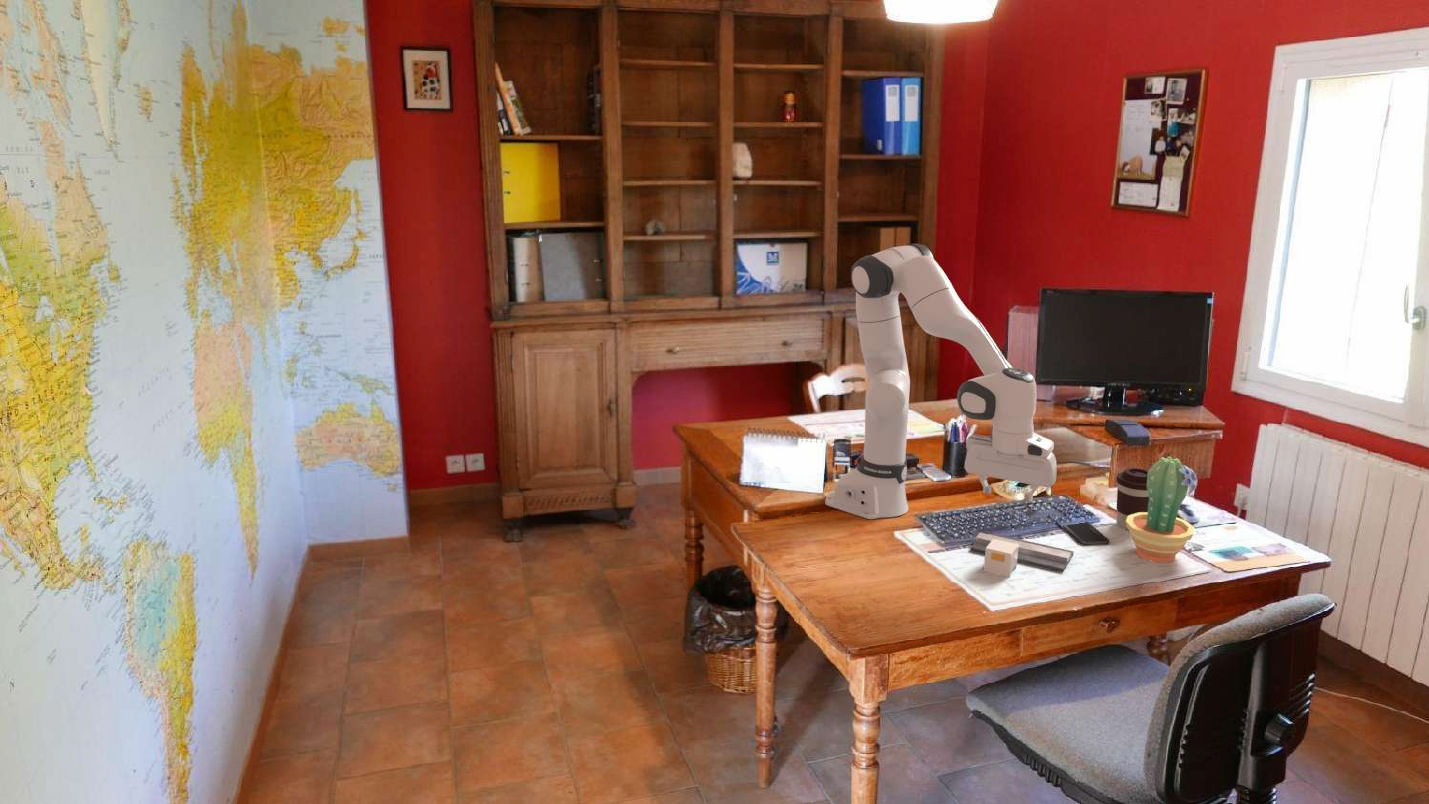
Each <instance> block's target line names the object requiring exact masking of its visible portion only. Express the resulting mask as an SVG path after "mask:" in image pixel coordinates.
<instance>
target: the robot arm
mask: <svg viewBox="0 0 1429 804" xmlns="http://www.w3.org/2000/svg"><path fill="white" fill-rule="evenodd" d="M850 281H851V285H852V287H853V289H854V290H855V313H856V314H855V315H856V320H857V326H858V327H857V328H858V335H859V336H858V337H859V343H860V350H861V352H862V353H861V354H862V357H863V362H864V366H865V373H866V378H867V385H866V390H865V399H864V401H865V405H864V407H865V408H864V409H865V410H864V441H863V442H864V443H863V444H864V445H863V452H862V453H861V454H860V456H857V458H856V459H855V461H854V462H855V463H854V466H856V467H855V468H854V469H852V470H850V471H849V472H847V473H845V474H844V475H842V476H841V477H840V478H839V479H838V480H837V482H836V484H835V486H834V490H832V491H831V492H829V493H828V495H827V496H826V497H825V501H824V505H826V506H828V507H831V508H834V509H837V510H840V511H843V512H846V513H848V514H853V515H855V516H859V517H861V518H864V519H867V520H875V519H880V518H896V517H898V516H902V515H905V514H906V513H907V512H908V511H909V505H908V501H907V495H906V494H907V493H906V479H907V471H908V468H907V464H908V463H907V462H908V461H907V458H906V453H907V452H906V451H907V439H908V438H907V437H908V424H909V423H908V420H909V404H910V392H911V391H910V390H911V389H910V388H911V377H910V372H909V365H908V359H907V354H906V348H905V341H904V333H903V325H902V319H901V311H900V305H899V295H900V293H901V294H902V295H903V296H904V298H905V300H906V303H907V304H908V306H909V309H910V310H911V312H912V315H913V316H914V319H915V321H916V323H917V324H918V325H919V327H920V328H921V329H922V330H923V331H924V332H925V333H927V334H928V335H931V336H932V337H933V336H934V337H936V338H937V337H938V338H942V339H947V340H951V341H953V342H956V343H958V344H959V345H962V347H964V348H965V349H966V350H967V352H968V353H969V354H970V355H971V357H972V358H973V360H974V362H975V363H976V364H977V366H978V367H979V369H980V370H981V372H982V373H983V375H981V376H978V377H974V378H972V379H971V378H970V379H968V380H967V381H964V382H962V383H961V385H960V386H959V388H958V391H957V395H956V400H957V401H956V402H957V405H958V407H959V410H960V412H962V414H963V415H964V416H966V417H967V418H969V419H970V420H978V421H991V422H992V423H993V424H992V436H988V435H980V434H977V433H975V434H973V435H969V436H968V437H967V438H966V444H965V447H966V450H967V451H966V455H965V461H964V469H965V471H966V472H967V474H972V475H978V476H979V477H978V479H979V482H980V483H981V485H982V487H983V489H982V494H985V495H990V494H991V493H992V488H993V485H992V484H989V483H988V480H987V479H988V477H989V478H993V479H1000V480H1005V481H1008V482H1009V481H1010V482H1015V483H1022V484H1026V485H1030V486H1029V488H1030V489H1031V491H1030V492H1029V491H1027V492H1025V493H1024V496H1023V501H1024V502H1025V503H1026V502H1027V503H1032V501H1033V499H1034V498H1033V497H1034V493H1035V492H1036V491H1037V490H1038V488H1039V487H1041V488H1042V487H1043V488H1051V487H1053V485H1055V483H1056V480H1057V475H1058V474H1057V472H1058V471H1057V469H1058V468H1057V458H1056V455H1055V454H1054V453H1053V450H1054V447H1055V443H1054V441H1053V440H1051V439H1048V438H1047V437H1044V436H1042V435H1040V434H1038V433H1037V432H1035V431H1034V430H1035V427H1034V422H1033V421H1034V416H1035V414H1036V409H1037V395H1038V394H1037V392H1038V391H1037V383H1036V380H1035V377H1034V375H1033V374H1032V373H1031V372H1028V371H1027V370H1024V369H1022V368H1016V367H1013V366H1012V365H1011V364H1010V363H1009V362H1008V361H1007V359H1006V357H1005V356H1004V354H1003V353H1002V351H1001V350H1000V349H999V348H1000V347H998V346H997V343H996V342H995V341H994V339H993V337H991V335H990V333H989V332H988V331H987V329H986V327H985V326H984V325H983V324H982V322H981V321H980V320H979V318H978V317H976V316H975V315H974V314H973V313H972V312H971V311H970V310H969V309H968V308H967V306H966V305H965V304H964V302H963V301H962V300H961V298H960V297H959V295H958V293H957V292H956V290H955V288H954V285H952V282H951V281H950V280H949V278H948V276H947V275H946V273H945V272H944V270H943V268H942V267H941V266H940V265H939V263H938V262H937V261H936V260H935V259H934V256H933V254H932V251H931V250H930V249H929V248H928V247H927V246H926V245H923V244H920V243H908V244H906V245H900V246H894V247H890V248H886V249H884V250H881V251H878V252H876V253H874V254H870V255H865V256H863V257H861V258H859V259H858V260H856V261H855V262H854V264H853V265H852V267H851V271H850Z"/></svg>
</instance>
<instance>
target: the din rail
mask: <svg viewBox="0 0 1429 804" xmlns="http://www.w3.org/2000/svg"><path fill="white" fill-rule="evenodd" d="M993 539H997V540H1002V541H1006V542H1010V543H1015V544H1019V547H1018V557H1017V563H1021V564H1024V565H1029V566H1033V567H1037V568H1041V569H1046V570H1050V571H1054V572H1059V573H1061V574H1063V573H1064V572H1065V570H1066V569H1067V567H1068V564H1070V562H1071V559H1072V558H1073V557H1074V553H1075V551H1073V550H1069V549H1064V548H1060V547H1055V546H1051V545H1047V544H1042V543H1037V542H1033V541H1028V540H1024V539H1020V538H1015V537H1012V536H1011V537H1010V536H1006V535H1001V534H998V533H993V534H985V533H983V532H979V533H978V534H977V535H976V537H975V542H974V543H973V544H972V545H971V546H970V552H973V553H977V554H982V555H985V552H986V547H987V546H988V545H989V544H990V542H991V541H992V540H993Z"/></svg>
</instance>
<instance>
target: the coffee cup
mask: <svg viewBox="0 0 1429 804" xmlns="http://www.w3.org/2000/svg"><path fill="white" fill-rule="evenodd" d="M1148 471H1149V470H1148V469H1144V468H1141V467H1140V468H1139V467H1128V468H1125V469H1124V471H1122V472H1119V473H1117V474H1116V483H1117V484H1118V487H1117V490H1116V492H1117V493H1116V525H1117V526H1118V527H1120V528H1121V529H1124V530H1127V531H1130V530H1129V529H1128V528H1127V527H1126V519H1127V517H1128V515H1132V514H1135V513H1138V512H1148V503H1149V495H1148V491H1147V476H1148Z"/></svg>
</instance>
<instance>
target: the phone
mask: <svg viewBox="0 0 1429 804" xmlns="http://www.w3.org/2000/svg"><path fill="white" fill-rule="evenodd" d="M1086 521H1087V522H1085V523H1079V524H1075V525H1074V524H1073V525H1068V526H1063V531H1065V533H1066V534H1068V535H1069V536H1070V537H1071V538H1072V539H1073V540H1074V541H1076V543H1078V544H1079V545H1081V546H1105V545H1110V539H1109V538H1108V537H1106V535H1104V534H1103V533H1101V532H1100V531H1099V530H1098V529H1097V528H1096V527H1095V526H1094V525H1092V524H1091V523H1090V522H1089V521H1088V520H1086Z"/></svg>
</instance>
